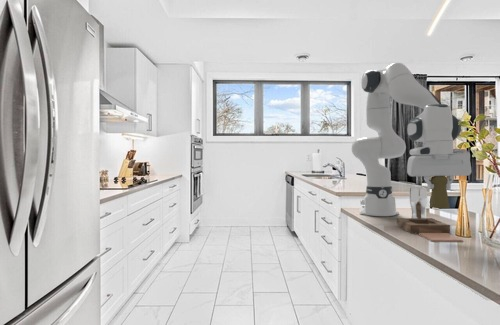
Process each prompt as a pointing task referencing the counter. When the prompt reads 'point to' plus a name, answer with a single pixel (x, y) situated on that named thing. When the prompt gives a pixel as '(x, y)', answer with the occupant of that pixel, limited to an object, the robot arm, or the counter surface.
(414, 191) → the beer glass
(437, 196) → the olive flared column
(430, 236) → the terracotta tile
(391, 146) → the robot arm
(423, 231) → the walnut holder
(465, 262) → the counter surface
